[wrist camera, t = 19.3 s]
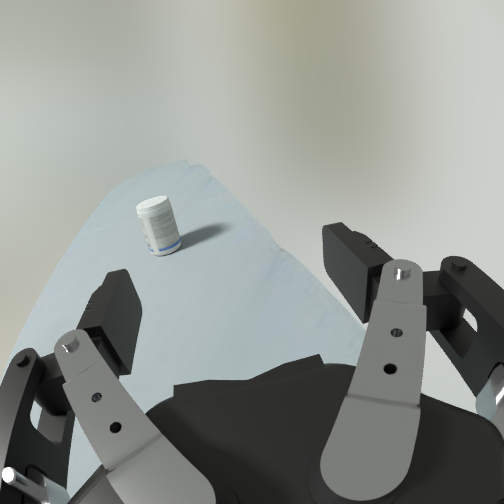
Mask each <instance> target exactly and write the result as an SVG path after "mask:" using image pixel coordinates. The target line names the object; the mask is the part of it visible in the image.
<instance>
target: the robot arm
mask: <svg viewBox="0 0 504 504" xmlns="http://www.w3.org/2000/svg"><path fill="white" fill-rule="evenodd" d="M322 236H323V258H324V266H325V269H326V272H327V274H328V275H329V277H330V278H331V280H332V281H333V282H334V284H335V285H336V286H337V288H338V289H339V291H340V292H341V293H342V295H343V296H344V298H345V299H346V300H347V302H348V303H349V304H350V306H351V307H352V309H353V310H354V312H355V313H356V315H357V316H358V317H359V319H360V320H361V322H362V323H363V324H364V323H367V322H369V324H368V328H367V331H366V335H365V339H364V342H363V346H362V349H361V353H360V356H359V359H358V363H357V366H351V365H346V364H334V363H328V364H324V363H323V361H322V359H321V357H320V355H319V354H317V355H314V356H310V357H307V358H303V359H299V360H296V361H292V362H288V363H284V364H282V365H280V366H278V367H276V368H274V369H271V370H269V371H267V372H265V373H263V374H261V375H258V376H256V377H254V378H252V379H249V380H205V381H199V382H193V383H186V384H179V385H174V395H173V397H170V398H168V399H166V400H164V401H162V402H160V403H159V404H157V405H155V406H154V407H153V408H151V409H150V410H149V411H148V412H147V413H146V414H145V413H144V412H143V411H142V410H141V409H140V407H139V406H138V405H137V404H136V402H135V401H134V400H133V399H132V397H131V396H130V395H129V394H128V392H127V391H126V390H125V388H124V387H123V386H122V384H121V383H120V382H119V376H120V375H129V374H131V370H132V364H133V358H134V353H135V348H136V342H137V337H138V332H139V327H140V322H141V318H142V306H141V302H140V299H139V297H138V295H137V292H136V290H135V287H134V285H133V283H132V280H131V278H130V275H129V273H128V271H127V270H126V269H121V270H117V271H113V272H108V273H107V275H106V277H105V279H104V282H103V284H102V286H100V287H99V288H98V289H97V290H96V291H95V292H94V293H93V294H92V295H91V298H90V300H89V302H88V304H87V306H86V308H85V311H84V313H83V315H82V317H81V319H80V322H79V324H78V326H77V328H76V330H72V331H70V332H68V333H66V334H64V335H63V336H62V337H61V338H60V339H59V340H58V341H57V343H56V345H55V347H54V353H51V354H49V355H46V356H44V357H41V358H40V356H39V355H38V354H37V352H36V351H35V350H34V349H33V348H27V349H24V350H22V351H20V352H19V353H17V354H16V355H15V356H14V358H13V359H12V360H11V362H10V364H9V367H8V369H7V371H6V374H5V376H4V378H3V381H2V383H1V386H0V504H504V290H503V289H502V288H501V287H500V286H499V285H498V284H497V283H496V282H494V281H493V280H492V279H491V278H490V277H489V276H488V275H486V274H485V273H484V272H483V271H482V270H481V269H479V268H478V267H477V266H476V265H474V264H473V263H472V262H471V261H469V260H468V259H465V258H463V257H459V256H449V257H446V258H444V259H443V260H442V262H441V267H440V271H427V272H422V269H421V268H420V266H418V265H417V264H416V263H414V262H412V261H408V260H402V259H399V260H394V259H393V258H391V257H390V256H389V255H388V254H387V253H386V252H385V251H384V250H382V249H381V248H380V247H378V245H377V244H376V243H374V242H372V240H371V239H370V238H368V237H367V236H366V235H364V234H362V233H359V232H356V231H353V232H352V231H351V230H350V229H349V228H348V227H347V226H345V225H344V224H343V223H342V222H339V223H335V224H330V225H325V226H323V229H322ZM466 308H467V310H468V311H469V312H470V313H471V314H472V315H473V316H474V317H475V319H476V321H477V333H476V331H475V330H474V329H473V328H472V327H471V326H470V325H469V323H468V322H467V321H466V320H465V319H464V318H463V315H464V311H465V309H466ZM426 331H429V332H430V333H431V334H432V336H433V337H434V338H435V340H436V341H437V343H438V344H439V345H440V347H441V348H442V349H443V351H444V352H445V354H446V355H447V356H448V358H449V359H450V360H451V362H452V363H453V365H454V366H455V367H456V369H457V370H458V372H459V373H460V374H461V376H462V378H463V379H464V381H465V382H466V384H467V385H468V387H469V388H470V390H471V391H472V393H473V394H474V396H475V397H476V410H477V413H478V414H475V413H472V412H469V411H467V410H464V409H461V408H458V407H455V406H453V405H450V404H448V403H445V402H442V401H440V400H437V399H435V398H432V397H429V396H427V395H424V394H422V393H421V385H422V376H423V367H424V356H425V341H426V340H425V339H426ZM34 400H35V401H36V402H37V404H38V405H39V406H40V407H41V408H42V411H41V415H40V419H39V423H38V428H37V429H35V428H34V426H33V425H32V423H31V420H30V412H31V409H32V405H33V402H34ZM75 415H76V417H77V419H78V421H79V423H80V425H81V427H82V429H83V431H84V433H85V435H86V436H87V438H88V440H89V442H90V444H91V445H92V447H93V449H94V451H95V452H96V454H97V456H98V457H99V459H100V461H101V462H102V464H101V465H100V467H99V468H98V469H97V470H96V471H95V472H94V473H93V475H92V476H91V477H90V478H89V479H88V480H87V481H86V483H85V484H84V485H83V486H82V487H81V488H80V489H79V491H78V492H77V493H76V494H75V495H74V496H73V497H72V498H71V499H70V497H69V494H68V492H67V491H66V489H67V475H68V465H69V455H70V447H71V440H72V433H73V427H74V421H75Z"/></svg>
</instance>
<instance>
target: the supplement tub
mask: <svg viewBox="0 0 504 504" xmlns="http://www.w3.org/2000/svg"><path fill="white" fill-rule="evenodd" d="M136 208H137V213H138V216H139V220H140V223H141V226H142V229H143V232H144V235H145V237H146V240H147V243H148V246H149V249H150V252H151V253H152V254H153V255H156V256H162V255H166V254H170V253H172V252H174V251H176V250H177V249H178V248H179V247H180V246H181V239H180V235H179V232H178V228H177V225H176V222H175V218H174V215H173V211H172V208H171V204H170V201H169V199H168V197H167V196H158V197H154V198H150V199H148V200H145V201H143V202H141V203H140V204H138V205H137V207H136Z"/></svg>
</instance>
